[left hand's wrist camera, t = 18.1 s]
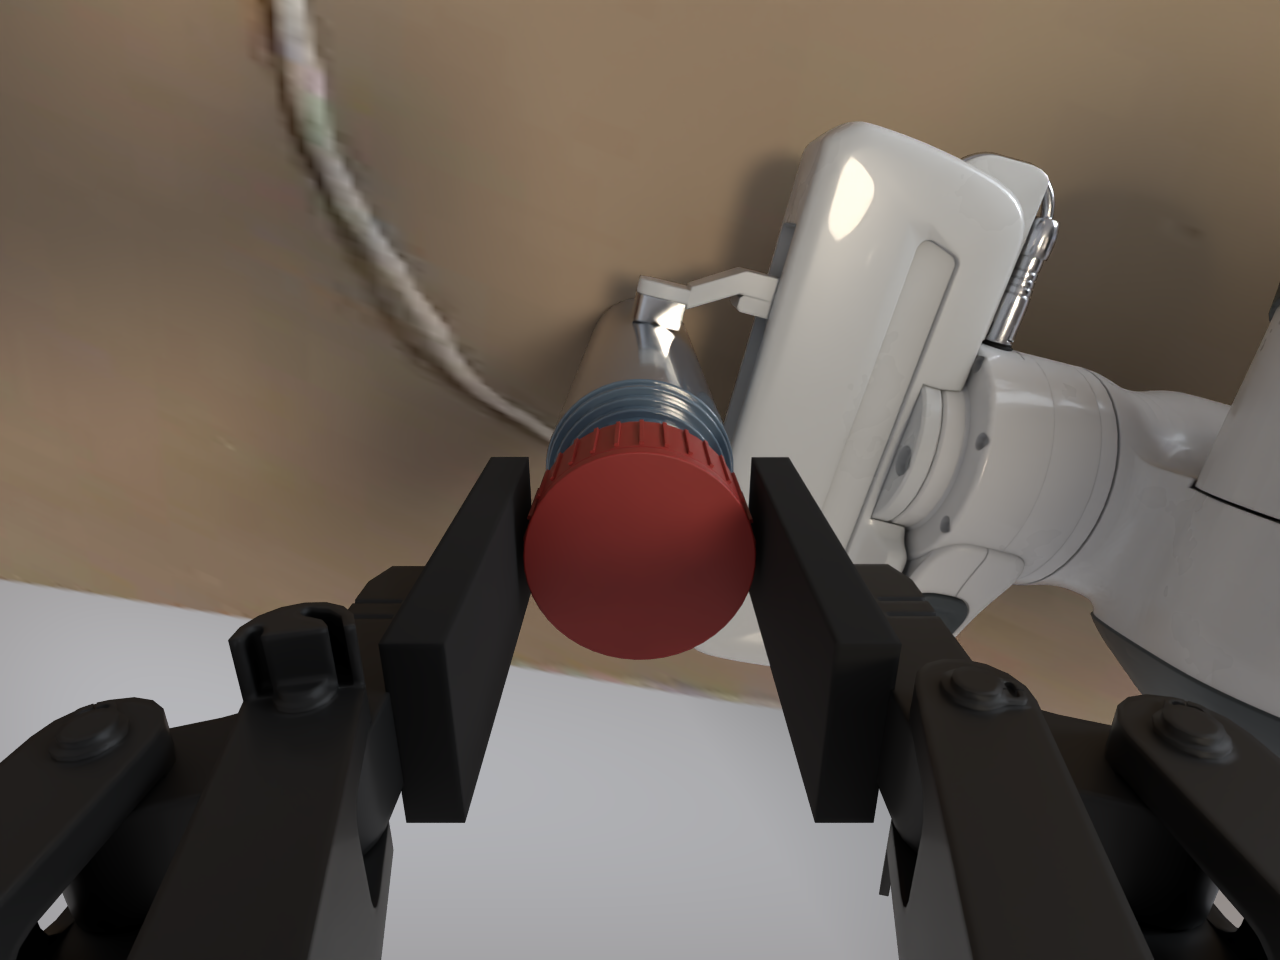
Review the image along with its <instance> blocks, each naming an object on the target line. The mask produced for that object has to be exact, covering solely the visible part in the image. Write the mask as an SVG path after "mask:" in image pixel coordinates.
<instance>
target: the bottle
mask: <svg viewBox="0 0 1280 960" xmlns="http://www.w3.org/2000/svg"><path fill="white" fill-rule="evenodd" d="M634 300H635V298H633V299H628V300H625V301H622V302H619V303H617V304H615V305H614V306H612V307H611V308H609V309H608V310H607V311H606V312H605V313H604V314H603V315H602V316H601V318H600V319H599V320H598V322H597V324H596V326H595V328H594V330H593V333H592V335H591V338H590V340H589V343H588V345H587V348H586V350H585V353H584V355H583V358H582V360H581V363H580V365H579V368H578V371H577V373H576V376H575V378H574V381H573V383H572V386H571V388H570V391H569V393H568V396H567V398H566V401H565V404H564V406H563V409H562V411H561V414H560V416H559V419H558V421H557V424H556V426H555V429H554V431H553V434H552V436H551V440H550V443H549V446H548V450H547V457H546V470H547V469H548V470H550V469H551V467H552V466H553V464H554V463H555V462H556V459H557V456H558V454H559V453H560V452H561V453H562V454H563V453H564V452H565V450H566V449H567V448H569V447H570V446H571V445H572V444H573V443H574V440H575V439H577V438H578V439H581V438H582V437H584V436H586V435H588V434H589V433H591V432H594V429H595V428H597V427H598V429H601V428H603V427H607V426H610V425H614V424H616V422H618V421H620V422H621V423H625V422H639V420H640V419H641V420H644V421H645V422H655V423H661V424H662V422H666V423H667V425H669V426H673V427H676V428H678V429H681V430H684V429H687V430H688V431H689V433H690V434H692V435H694V436H695V437H697V438H699V439H700V440H702V441H704V440H706V441H707V442H708V445H709V446H710V447H711V448H712V449H713V450H714V451H715V452H716V453H717V454H718V455H719V456H720V455H722V456H723V457H724V460H725V463H726V465H727V467H728V468H729V470H730V472H731V473H733V472H734V459H733V453H732V448H731V444H730V441H729V438H728V435H727V433H726V430H725V427H724V425H723V422H722V420H721V417H720V415H719V412H718V410H717V407H716V404H715V402H714V399H713V397H712V394H711V392H710V389H709V387H708V384H707V381H706V379H705V376H704V374H703V371H702V369H701V366H700V364H699V361H698V358H697V356H696V353H695V351H694V348H693V346H692V343H691V341H690V338H689V335H688V333H687V330H686V328H685V326H684V324H683V322H681V326H680V329H679V331H676V330H672V329H667V328H664V327H661V326H660V325H659V324H658V323H657V322H656V321H655V322H653V323H643V322H639V321H636V320H633V319H632V318H631V314H632V309H633V305H634Z"/></svg>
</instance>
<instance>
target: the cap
mask: <svg viewBox="0 0 1280 960" xmlns="http://www.w3.org/2000/svg"><path fill="white" fill-rule="evenodd" d="M527 519H528V520H530V521H529V523H528V526H527V529H526V532H525V535H524V537H523V541H524V550H523V562H524V571H525V575H526V580H527V584H528V586H529V589H530V591H531V594H532V596H533V598H534V600H535V602H536V603H537V605H538V607H539V609H540V610H541V611H542V613H543V614H544V615H545V617H546V618H547V619H548V620H549V621H550V622H551V623H552V624H553V625H554V626H555V627H556V628H557V629H558V630H559V631H560V632H561V633H563V634H564V635H565V636H567V637H568V638H569V639H571V640H573V641H574V642H576V643H577V644H579V645H581V646H583V647H585V648H587V649H590V650H592V651H594V652H597V653H601V654H604V655H607V656H612V657H616V658H622V659H633V660H645V659H656V658H664V657H668V656H672V655H676V654H679V653H682V652H685V651H687V650H690V649H692V648H694V647H696V646H698V645H700V644H702V643H704V642H705V641H707V640H708V639H710V638H711V637H713V636H714V635H716V634H717V633H718V632H719V631H720V630H721V629H723V628H724V627H725V626H726V625H727V624H728V623H729V621H730V620H731V619H732V618H733V617H734V616H735V615H736V613H737V612H738V610H739V609H740V607H741V606H742V604H743V602H744V600H745V598H746V596H747V594H748V592H749V590H750V587H751V584H752V581H753V577H754V572H755V566H756V546H755V545H756V539H755V537H754V534H753V530H752V526H751V523H753V519H752V517H751V514H750V511H749V508H748V506H747V503H746V500H745V497H744V495H743V492H742V491H741V488H740V486H739V483H738V480H737V477H736V475H735V473H734V472H733V473H731V472H730V470H729V468H728V467H727V465H726V463H725V460H724V457H723V456H722V455H720V456H719V455H718V454H717V453H716V452H715V451H714V450H713V449H712V448H711V447H710V446H709V445H708V442H707V441H706V440H704V441H702V440H700V439H699V438H697V437H695V436H694V435H692V434H690V433H689V431H688V430H687V429H684V430H681V429H678V428H676V427H673V426H669V425H667V423H666V422H662V424H661V423H655V422H645V421H644V420H641V419H640V420H639V422H625V423H621V422H620V421H618V422H616V424H614V425H610V426H607V427H603V428H601V429H598V427H597V428H595V429H594V432H591V433H589V434H588V435H586V436H584V437H582V438H581V439H578V438H577V439H575V440H574V443H573V444H572V445H571V446H570V447H569V448H567V449H566V450H565V452H564V453H563V454H562V453H561V452H560V453H559V454H558V456H557V459H556V462H555V463H554V464H553V466H552V467H551V469H550V470H548V469H547V470H546V472H545V474H544V477H543V480H542V483H541V485H540V488H538V490H537V493H536V495H535V498H534V501H533V503H532V506H531V509H530V512H529V514H528V517H527Z"/></svg>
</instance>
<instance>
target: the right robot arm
mask: <svg viewBox="0 0 1280 960" xmlns="http://www.w3.org/2000/svg"><path fill="white" fill-rule="evenodd" d="M1040 204H1041V215H1040V217H1037V216H1036V214H1037V212H1038V209H1039V207H1040ZM1054 210H1055V195H1054V190H1053V187H1052V185H1051V182H1050V180H1049V178H1048V176H1047V174H1046V173H1045V172H1044V171H1042V170H1041V169H1040V168H1039V167H1037V166H1035V165H1033V164H1032V163H1029V162H1026V161H1022V160H1019V159H1015V158H1011V157H1008V156H1004V155H1000V154H997V153H993V152H980V153H974V154H971V155H967V156H965V157H963V158H961V159H959V158H957V157H955V156H953V155H951V154H949V153H947V152H945V151H942V150H940V149H938V148H936V147H934V146H931V145H929V144H927V143H924V142H922V141H919V140H917V139H914V138H912V137H909V136H907V135H904V134H901V133H899V132H896V131H893V130H890V129H887V128H884V127H881V126H878V125H874V124H871V123H867V122H847V123H844V124H841V125H839V126H836V127H834V128H832V129H830V130H829V131H827V132H825V133H823V134H822V135H820V136H819V137H818V138H816V139H815V140H813V141H812V142H810V143H809V144H808V145H807V146H806V148H805V150H804V152H803V154H802V157H801V161H800V164H799V167H798V171H797V174H796V178H795V181H794V184H793V188H792V191H791V195H790V198H789V202H788V205H787V208H786V212H785V215H784V219H783V222H782V225H781V229H780V232H779V236H778V239H777V242H776V246H775V249H774V253H773V256H772V260H771V263H770V266H769V270H768V273H767V274H766V273H762V272H758V271H754V270H750V269H746V268H742V267H736V268H732V269H729V270H726V271H723V272H720V273H716V274H713V275H710V276H707V277H703V278H700V279H697V280H694V281H691V282H688V284H687V285H683V284H678V283H674V282H670V281H666V280H662V279H658V278H654V277H650V276H643V275H640V278H639V282H638V287H637V291H636V295H635V300H634V305H633V309H632V314H631V318H632V319H633V320H636V321H639V322H643V323H653V322H655V321H656V322H657V323H658V324H659V325H660V326H661V327H664V328H667V329H672V330H676V331H679V329H680V326H681V322H682V319H683V315H684V312H685V308H686V309H690V308H693V307H696V306H700V305H703V304H707V303H710V302H714V301H717V300H721V299H724V298H728V297H731V298H730V302H731V304H732V305H733V306H734V307H735V308H736V309H737V310H738V311H739V312H742V313H746V314H750V315H753V316H755V317H754V321H753V324H752V328H751V331H750V335H749V338H748V341H747V345H746V348H745V352H744V355H743V358H742V362H741V365H740V369H739V372H738V375H737V379H736V382H735V386H734V389H733V393H732V396H731V399H730V403H729V406H728V410H727V413H726V416H725V420H724V423H723V425H724V427H725V430H726V433H727V435H728V438H729V441H730V444H731V448H732V453H733V459H734V473H735V475H736V477H737V480H738V483H739V486H740V488H741V491H742V492H743V495H744V497H745V500H746V503H747V506H749V489H750V473H751V457H789V458H790V460H791V462H792V463H793V465H794V467H795V468H796V470H797V472H798V473H799V475H800V477H801V478H802V480H803V481H804V483H805V485H806V486H807V488H808V490H809V491H810V493H811V495H812V496H813V498H814V500H815V501H816V503H817V505H818V506H819V508H820V510H821V511H822V513H823V514H824V516H825V518H826V519H827V521H828V523H829V524H830V526H831V528H832V529H833V531H834V533H835V534H836V536H837V538H838V539H839V541H840V543H841V544H842V546H843V547H844V549H845V551H846V552H847V554H848V556H849V557H850V559H851V561H852V562H853V564H889V565H890V566H892V567H893V568H895V569H896V570H898V571H900V572H901V573H903V574H904V575H906V576H907V577H909V578H910V579H912V580H913V582H914V583H915V584H916V586H917V587H918V588H919V590H920V591H921V592H922V594H923V595H924V597H925V601H928V602H929V603H930V605H931V606H932V607H933V609H934V610H935V611H936V616H939V617H940V618H941V620H942V621H943V622H944V624H945V625H946V626H947V628H948V629H949V630H950V632H951V633H952V634H953V636H954V637H956V636H957V635H958V634H959V633H960V632H961V631H962V630H963V629H964V628H965V627H966V626H967V625H968V624H969V623H970V622H971V621H972V620H973V619H974V618H975V617H976V616H977V615H978V614H979V613H980V612H981V611H982V610H983V609H984V608H985V607H987V606H988V605H989V604H990V603H991V602H992V601H993V600H995V599H996V598H997V597H998V596H999V595H1001V594H1002V593H1003V592H1004V591H1006V590H1007V589H1008V588H1009V587H1010V586H1011V585H1053V586H1059V587H1063V588H1066V589H1069V590H1072V591H1074V592H1076V593H1079V594H1081V595H1083V596H1084V597H1086V598H1088V599H1089V600H1090V601H1091V603H1092V604H1093V608H1094V610H1093V612H1091V616H1092V619H1093V621H1094V623H1095V625H1096V627H1097V629H1098V631H1099V633H1100V635H1101V636H1102V638H1103V640H1104V641H1105V643H1106V644H1107V646H1108V647H1109V648H1110V650H1111V651H1112V653H1113V654H1114V656H1115V657H1116V659H1117V660H1118V662H1119V663H1120V664H1121V666H1122V667H1123V669H1124V670H1125V671H1126V673H1127V674H1128V676H1129V677H1130V679H1131V680H1132V682H1133V683H1134V684H1135V686H1136V687H1137V688H1138V690H1139V691H1140V692H1141V693H1142V695H1145V694H1150V695H1159V696H1168V697H1175V698H1180V699H1184V701H1191V702H1194V703H1197V704H1200V705H1202V706H1204V707H1206V708H1207V709H1209V710H1212V711H1214V712H1216V713H1218V714H1220V715H1222V716H1225V717H1227V718H1228V719H1230V720H1231V721H1233V722H1234V723H1236V724H1237V725H1239V726H1240V727H1242V728H1243V729H1244V730H1246V731H1247V732H1249V733H1250V734H1252V735H1253V736H1254V737H1255V738H1256V739H1257V740H1259V741H1260V742H1261V743H1262V744H1263V745H1265V746H1266V747H1267V748H1268V749H1269V750H1271V751H1272V752H1273V753H1274V754H1275V755H1276V756H1278V757H1279V758H1280V283H1279V286H1278V289H1277V292H1276V295H1275V298H1274V300H1273V303H1272V306H1271V309H1270V311H1269V321H1270V324H1269V326H1268V328H1267V330H1266V333H1265V335H1264V337H1263V339H1262V341H1261V343H1260V345H1259V348H1258V350H1257V352H1256V354H1255V356H1254V358H1253V360H1252V363H1251V365H1250V367H1249V369H1248V371H1247V373H1246V375H1245V378H1244V380H1243V382H1242V384H1241V386H1240V388H1239V390H1238V392H1237V395H1236V397H1235V399H1234V401H1233V403H1232V405H1227V404H1223V403H1220V402H1216V401H1213V400H1209V399H1206V398H1202V397H1198V396H1194V395H1190V394H1186V393H1182V392H1175V391H1164V390H1151V391H1130V390H1126V389H1123V388H1121V387H1119V386H1118V385H1116V384H1115V383H1113V382H1112V381H1110V380H1109V379H1107V378H1105V377H1103V376H1102V375H1100V374H1098V373H1096V372H1094V371H1091V370H1088V369H1085V368H1082V367H1079V366H1074V365H1070V364H1066V363H1062V362H1058V361H1054V360H1050V359H1046V358H1042V357H1038V356H1034V355H1030V354H1026V353H1022V352H1019V351H1015V350H1013V349H1012V348H1011V346H1012V343H1013V341H1014V339H1015V337H1016V334H1017V332H1018V329H1019V327H1020V325H1021V322H1022V320H1023V318H1024V315H1025V313H1026V311H1027V308H1028V305H1029V302H1030V300H1031V299H1030V297H1031V296H1032V293H1033V291H1032V289H1034V286H1035V283H1034V282H1035V281H1036V280H1037V277H1038V273H1039V272H1040V270H1041V268H1042V266H1043V264H1044V261H1047V260H1048V258H1049V256H1050V254H1051V252H1052V250H1053V248H1054V245H1055V243H1056V240H1057V236H1058V233H1059V227H1060V223H1059V221H1057V220H1053V216H1054ZM694 648H695V649H696V650H698V651H700V652H702V653H705V654H708V655H711V656H716V657H720V658H725V659H730V660H735V661H740V662H746V663H753V664H759V665H766V666H770V664H769V660H768V657H767V653H766V650H765V646H764V643H763V639H762V636H761V632H760V629H759V625H758V622H757V618H756V615H755V611H754V608H753V604H752V601H751V598H750V594H749V592H748V594H747V596H746V598H745V600H744V602H743V604H742V606H741V607H740V609H739V610H738V612H737V613H736V615H735V616H734V617H733V618H732V619H731V620H730V621H729V623H728V624H727V625H726V626H725V627H724V628H723V629H721V630H720V631H719V632H718V633H717V634H716V635H714V636H713V637H711V638H710V639H708V640H707V641H705V642H704V643H702V644H700V645H698V646H696V647H694Z"/></svg>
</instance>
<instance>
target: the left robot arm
mask: <svg viewBox="0 0 1280 960" xmlns="http://www.w3.org/2000/svg"><path fill="white" fill-rule="evenodd" d="M748 508H749V511H750V514H751V517H752V519H753V523H751V526H752V530H753V534H754V537H755V539H756V545H755V546H756V566H755V572H754V577H753V581H752V584H751V587H750V590H749V594H750V598H751V601H752V604H753V608H754V611H755V615H756V618H757V622H758V625H759V629H760V632H761V636H762V639H763V643H764V646H765V650H766V653H767V657H768V660H769V664H770V667H771V671H772V674H773V678H774V681H775V685H776V688H777V692H778V695H779V699H780V702H781V706H782V709H783V713H784V716H785V720H786V723H787V727H788V730H789V734H790V737H791V741H792V744H793V747H794V751H795V755H796V758H797V762H798V765H799V769H800V772H801V776H802V779H803V783H804V786H805V789H806V793H807V797H808V800H809V803H810V807H811V811H812V814H813V817H814V821H815V823H873V822H874V816H875V810H876V804H877V797H878V791H879V789H880V792H881V794H882V796H883V799H884V801H885V804H886V806H887V809H888V811H889V813H890V816H891V818H892V819H891V825H890V831H889V837H888V843H887V849H886V855H885V861H884V866H883V873H882V878H881V885H880V892H879V894H880V895H884V896H889V890H890V885H891V892H892V900H893V909H894V918H895V927H896V936H897V945H898V954H899V960H1280V758H1279V757H1278V756H1276V755H1275V754H1274V753H1273V752H1272V751H1271V750H1269V749H1268V748H1267V747H1266V746H1265V745H1263V744H1262V743H1261V742H1260V741H1259V740H1257V739H1256V738H1255V737H1254V736H1253V735H1252V734H1250V733H1249V732H1247V731H1246V730H1244V729H1243V728H1242V727H1240V726H1239V725H1237V724H1236V723H1234V722H1233V721H1231V720H1230V719H1228V718H1227V717H1225V716H1222V715H1220V714H1218V713H1216V712H1214V711H1212V710H1209V709H1207V708H1206V707H1204V706H1202V705H1200V704H1197V703H1194V702H1191V701H1184V699H1180V698H1175V697H1168V696H1159V695H1150V694H1145V695H1138V696H1132V697H1128V698H1126V699H1125V700H1124V701H1123V702H1121V703H1120V704H1119V705H1118V706H1117V709H1116V712H1115V716H1114V719H1113V722H1112V726H1111V725H1107V724H1102V723H1097V722H1092V721H1087V720H1082V719H1077V718H1072V717H1067V716H1062V715H1058V714H1054V713H1050V712H1047V711H1043V710H1041V709H1040V707H1039V704H1038V702H1037V700H1036V699H1035V698H1034V696H1033V695H1032V694H1031V692H1030V691H1029V690H1028V688H1027V687H1026V686H1025V685H1023V684H1022V683H1021V682H1019V681H1018V680H1016V679H1015V678H1014V677H1012V676H1011V675H1009V674H1008V673H1005V672H1003V671H1001V670H998V669H996V668H994V667H991V666H989V665H987V664H983V663H978V662H974V661H972V660H971V659H970V657H969V656H968V655H967V653H966V652H965V651H964V649H963V648H962V647H961V645H960V644H959V643H958V641H957V640H956V638H955V637H954V636H953V634H952V633H951V632H950V630H949V629H948V628H947V626H946V625H945V624H944V622H943V621H942V620H941V618H940V617H939V616H936V611H935V610H934V609H933V607H932V606H931V605H930V603H929V602H928V601H925V597H924V595H923V594H922V592H921V591H920V590H919V588H918V587H917V586H916V584H915V583H914V582H913V580H912V579H910V578H909V577H907V576H906V575H904V574H903V573H901V572H900V571H898V570H896V569H895V568H893V567H892V566H890V565H889V564H853V562H852V561H851V559H850V557H849V556H848V554H847V552H846V551H845V549H844V547H843V546H842V544H841V543H840V541H839V539H838V538H837V536H836V534H835V533H834V531H833V529H832V528H831V526H830V524H829V523H828V521H827V519H826V518H825V516H824V514H823V513H822V511H821V510H820V508H819V506H818V505H817V503H816V501H815V500H814V498H813V496H812V495H811V493H810V491H809V490H808V488H807V486H806V485H805V483H804V481H803V480H802V478H801V477H800V475H799V473H798V472H797V470H796V468H795V467H794V465H793V463H792V462H791V460H790V458H789V457H751V473H750V489H749V506H748ZM530 509H531V490H530V473H529V457H491V458H490V460H489V462H488V463H487V465H486V467H485V468H484V470H483V472H482V473H481V475H480V476H479V478H478V480H477V481H476V483H475V485H474V486H473V488H472V490H471V491H470V493H469V495H468V496H467V498H466V500H465V501H464V503H463V505H462V506H461V508H460V509H459V511H458V513H457V514H456V516H455V518H454V519H453V521H452V523H451V524H450V526H449V528H448V529H447V531H446V533H445V534H444V536H443V538H442V539H441V541H440V543H439V544H438V546H437V547H436V549H435V551H434V552H433V554H432V556H431V557H430V559H429V561H428V562H427V564H426V566H392V567H390V568H389V569H387V570H386V571H384V572H383V573H381V574H380V575H378V576H377V577H375V578H373V579H372V580H370V581H369V582H368V583H367V584H366V586H365V587H364V589H363V590H362V591H361V593H360V594H359V595H358V597H357V598H356V599H355V603H353V604H352V605H351V606H350V608H349V609H346V608H345V607H344V606H340V605H336V604H332V603H328V602H312V603H300V604H295V605H290V606H285V607H281V608H278V609H275V610H273V611H270V612H267V613H265V614H262V615H259V616H257V617H256V618H254V619H253V620H251V621H249V622H248V623H246V624H244V625H243V626H241V627H240V628H239V629H238V630H237V631H236V632H235V633H234V634H233V635H232V637H231V638H230V639H229V640H228V642H229V645H230V650H231V654H232V658H233V661H234V666H235V670H236V674H237V678H238V682H239V686H240V690H241V694H242V698H243V703H242V706H241V708H240V710H239V712H238V713H237V714H234V715H230V716H226V717H223V718H218V719H213V720H208V721H204V722H198V723H194V724H189V725H184V726H179V727H174V728H169V726H168V722H167V719H166V716H165V712H164V709H163V708H162V707H161V706H159V705H158V704H157V703H156V702H154V701H153V700H148V699H142V698H136V697H132V698H123V699H114V700H107V701H103V702H98V703H97V704H91V705H88V706H85V707H82V708H79V709H77V710H76V711H74V712H72V713H70V714H68V715H66V716H64V717H61V718H59V719H57V720H55V721H53V722H52V723H50V724H49V725H47V726H46V727H44V728H43V729H42V730H40V731H39V732H37V733H36V734H34V735H33V736H31V737H30V738H29V739H28V740H27V741H25V742H24V743H23V744H22V745H21V746H20V747H18V748H17V749H16V750H15V751H14V752H13V753H11V754H10V755H9V756H8V757H7V758H5V759H4V760H3V761H2V762H1V763H0V960H381V956H382V947H383V938H384V929H385V920H386V911H387V902H388V893H389V885H390V876H391V867H392V858H393V844H392V837H391V831H390V825H389V819H390V817H391V814H392V812H393V810H394V807H395V805H396V802H397V800H398V798H399V795H400V793H401V791H402V798H403V804H404V810H405V816H406V822H407V823H465V821H466V817H467V814H468V810H469V807H470V803H471V800H472V797H473V793H474V790H475V786H476V782H477V779H478V775H479V772H480V769H481V765H482V762H483V758H484V754H485V751H486V748H487V744H488V741H489V737H490V734H491V730H492V727H493V723H494V720H495V716H496V713H497V709H498V706H499V702H500V699H501V695H502V692H503V688H504V685H505V681H506V678H507V674H508V671H509V667H510V664H511V660H512V657H513V653H514V650H515V646H516V643H517V639H518V636H519V632H520V629H521V625H522V622H523V618H524V615H525V611H526V608H527V604H528V601H529V597H530V594H531V591H530V589H529V586H528V584H527V580H526V575H525V571H524V562H523V550H524V541H523V537H524V535H525V532H526V529H527V526H528V523H529V521H530V520H528V519H527V517H528V514H529V512H530ZM1218 890H1220V891H1221V892H1222V893H1223V894H1224V895H1225V897H1226V898H1227V899H1228V900H1229V901H1230V902H1231V903H1232V905H1233V906H1234V907H1235V908H1236V909H1237V910H1238V912H1239V913H1240V914H1241V915H1242V916H1243V917H1244V920H1243V922H1242V924H1241V926H1240V927H1239V928H1236V927H1235V926H1234V925H1233V924H1232V923H1231V922H1230V921H1229V920H1228V919H1226V918H1225V916H1224V915H1223V914H1222V913H1221V912H1220V911H1219V909H1218V908H1217V907H1216V906H1215V905H1214V903H1213V902H1214V900H1215V898H1216V895H1217V893H1218ZM62 893H63V895H64V898H65V900H66V903H67V905H68V906H67V908H66V909H65V910H64V911H63V912H62V913H61V915H60V916H59V917H58V918H57V920H56V921H54V922H53V923H52V924H51V925H50V926H49V927H47V928H46V929H45V930H44V931H43V930H42V929H41V928H40V927H39V924H38V920H39V919H40V918H41V917H42V916H43V915H44V913H45V912H46V911H47V910H48V909H49V908H50V906H51V905H52V904H53V903H54V902H55V901H56V899H57V898H58V897H59V896H60V895H61V894H62Z"/></svg>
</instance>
